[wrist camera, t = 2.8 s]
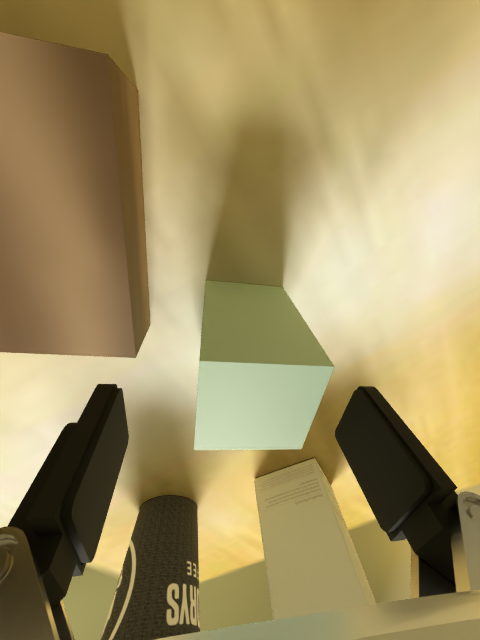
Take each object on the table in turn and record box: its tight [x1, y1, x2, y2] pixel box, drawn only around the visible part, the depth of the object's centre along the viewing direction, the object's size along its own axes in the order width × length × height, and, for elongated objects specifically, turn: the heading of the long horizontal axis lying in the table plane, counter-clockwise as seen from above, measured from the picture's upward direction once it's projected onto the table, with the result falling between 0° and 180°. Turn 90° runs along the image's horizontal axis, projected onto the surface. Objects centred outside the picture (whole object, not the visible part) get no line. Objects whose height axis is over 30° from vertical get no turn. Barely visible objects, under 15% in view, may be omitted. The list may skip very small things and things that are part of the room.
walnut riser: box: [0, 32, 150, 358], centre depth 11 cm, size 12×12×4 cm
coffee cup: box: [101, 496, 200, 640], centre depth 22 cm, size 10×10×15 cm
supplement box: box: [254, 458, 376, 620], centre depth 23 cm, size 7×7×13 cm
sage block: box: [194, 280, 334, 450], centre depth 14 cm, size 5×5×8 cm
